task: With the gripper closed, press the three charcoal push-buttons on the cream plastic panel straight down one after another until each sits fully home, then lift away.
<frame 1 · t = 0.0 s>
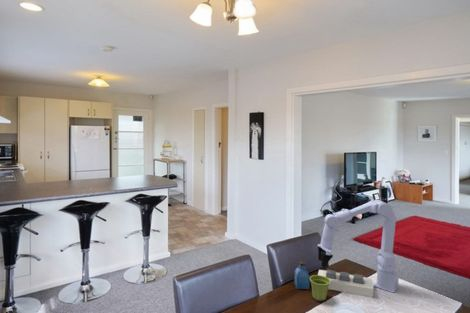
hand: (322, 263, 156), 11 cm above the table, tool pointing down, fingers open, 7 cm apart
button panel: (344, 286, 154), on the table
perfume bottle: (301, 286, 154), on the table
button 1: (331, 275, 156), point 4 cm above the table, slide at 0.0 cm
button 2: (358, 280, 151), point 4 cm above the table, slide at 0.0 cm
button middle: (344, 277, 154), point 4 cm above the table, slide at 0.0 cm
plant pot: (319, 298, 143), on the table
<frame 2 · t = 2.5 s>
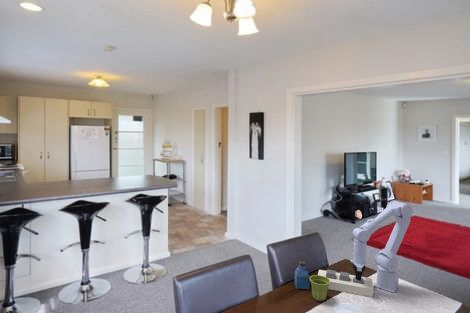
hand: (358, 279, 151), 5 cm above the table, tool pointing down, fingers closed, pressing on button 2
button 2: (358, 283, 151), point 3 cm above the table, slide at 1.5 cm, touching gripper
everything else where it was.
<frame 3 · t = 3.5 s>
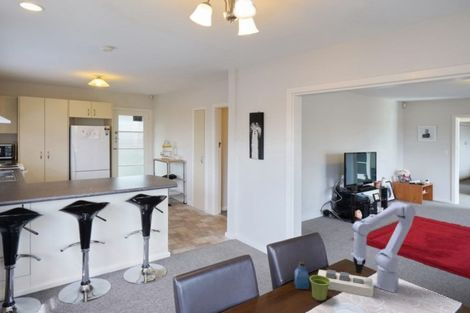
hand: (358, 272, 151), 8 cm above the table, tool pointing down, fingers closed
button 2: (358, 284, 151), point 2 cm above the table, slide at 2.1 cm
everything else where it was.
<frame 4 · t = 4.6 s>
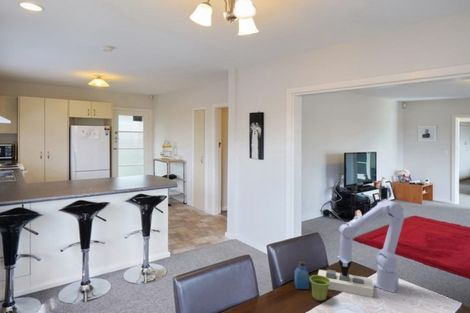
hand: (344, 275, 154), 6 cm above the table, tool pointing down, fingers closed, pressing on button middle
button middle: (344, 278, 154), point 4 cm above the table, slide at 0.5 cm, touching gripper
everything else where it was.
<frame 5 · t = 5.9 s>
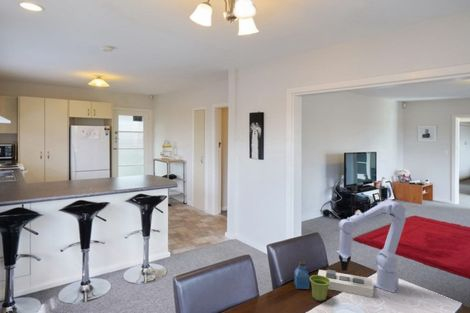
hand: (344, 270, 153), 8 cm above the table, tool pointing down, fingers closed
button middle: (344, 281, 154), point 2 cm above the table, slide at 2.1 cm
everything else where it was.
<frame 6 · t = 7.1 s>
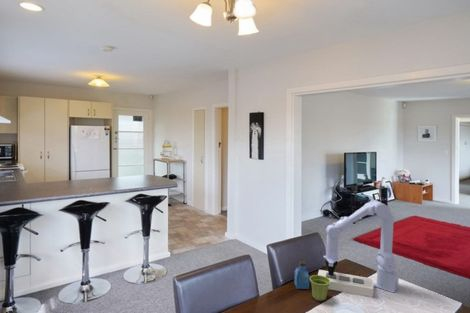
hand: (331, 274, 156), 5 cm above the table, tool pointing down, fingers closed, pressing on button 1
button 1: (330, 278, 156), point 3 cm above the table, slide at 1.5 cm, touching gripper
everything else where it was.
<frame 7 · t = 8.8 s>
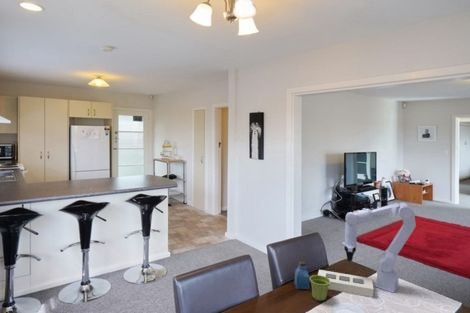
hand: (349, 260, 161), 10 cm above the table, tool pointing down, fingers closed
button 1: (330, 279, 156), point 2 cm above the table, slide at 2.1 cm
everything else where it was.
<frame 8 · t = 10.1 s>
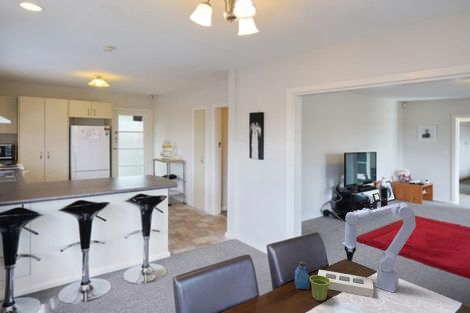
hand: (349, 260, 161), 10 cm above the table, tool pointing down, fingers closed
nothing on the table moved.
at the end: button 2 slide at 2.1 cm; button middle slide at 2.1 cm; button 1 slide at 2.1 cm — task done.
